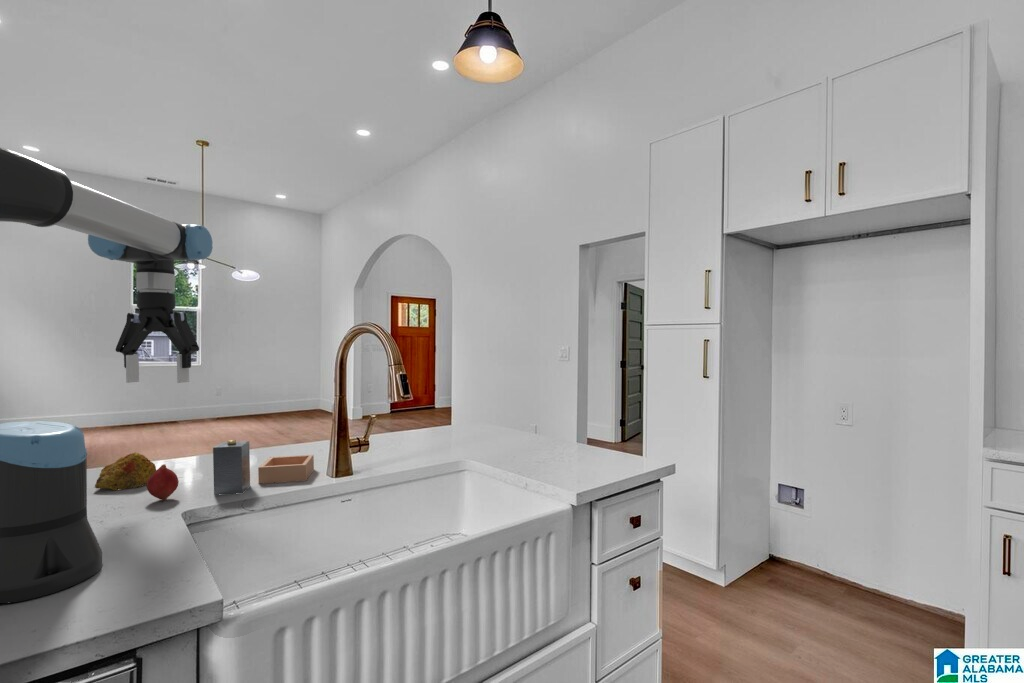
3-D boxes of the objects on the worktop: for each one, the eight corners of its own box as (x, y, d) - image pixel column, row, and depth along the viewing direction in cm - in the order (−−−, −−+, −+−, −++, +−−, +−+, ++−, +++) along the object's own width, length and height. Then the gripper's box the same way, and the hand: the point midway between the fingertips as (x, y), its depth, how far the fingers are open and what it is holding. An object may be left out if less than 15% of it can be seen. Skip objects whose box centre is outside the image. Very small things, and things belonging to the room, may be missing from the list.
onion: (142, 505, 111) (141, 468, 111) (153, 497, 117) (152, 462, 117) (173, 502, 113) (172, 466, 113) (182, 495, 118) (181, 460, 118)
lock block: (242, 493, 119) (241, 442, 119) (213, 495, 118) (212, 444, 118) (250, 486, 125) (249, 437, 125) (223, 487, 124) (222, 438, 124)
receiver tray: (305, 480, 129) (305, 464, 129) (258, 483, 127) (258, 467, 127) (313, 469, 140) (313, 454, 140) (270, 472, 138) (270, 457, 137)
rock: (121, 508, 122) (84, 482, 119) (126, 504, 129) (91, 479, 126) (162, 470, 127) (127, 444, 124) (164, 468, 134) (131, 443, 132)
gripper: (215, 292, 123) (216, 380, 123) (124, 294, 127) (126, 380, 127) (190, 289, 116) (192, 383, 116) (95, 292, 120) (97, 383, 120)
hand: (157, 382), depth 122 cm, fingers open, 13 cm apart
